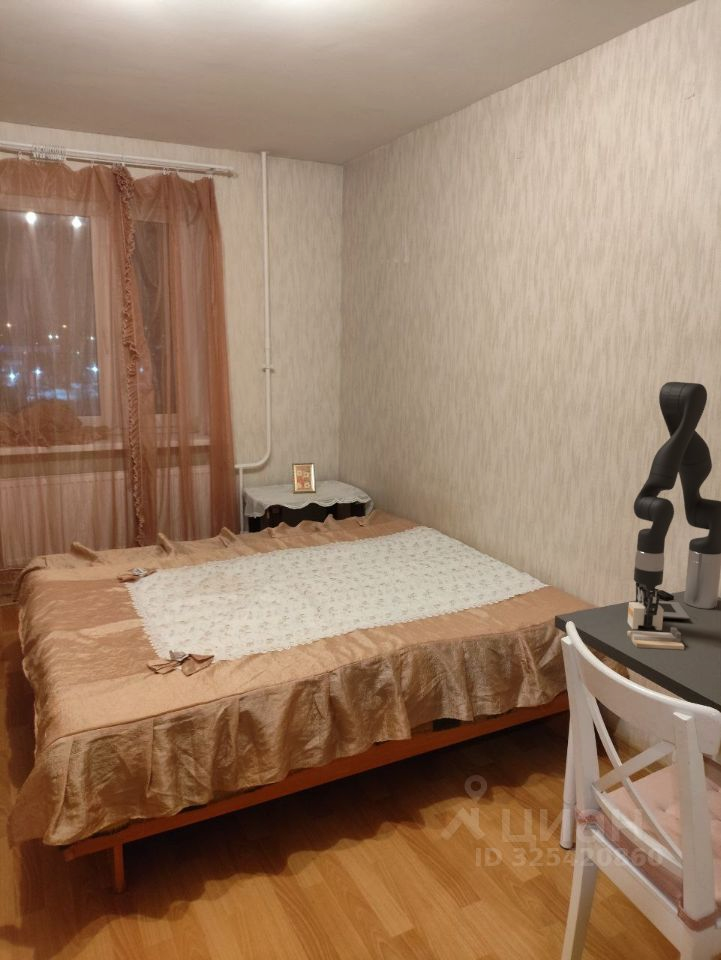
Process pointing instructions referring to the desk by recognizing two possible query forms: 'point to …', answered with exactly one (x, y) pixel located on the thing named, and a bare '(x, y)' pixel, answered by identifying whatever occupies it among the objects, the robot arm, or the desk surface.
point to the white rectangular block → (638, 616)
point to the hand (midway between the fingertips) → (644, 623)
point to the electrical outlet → (673, 610)
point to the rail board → (657, 639)
